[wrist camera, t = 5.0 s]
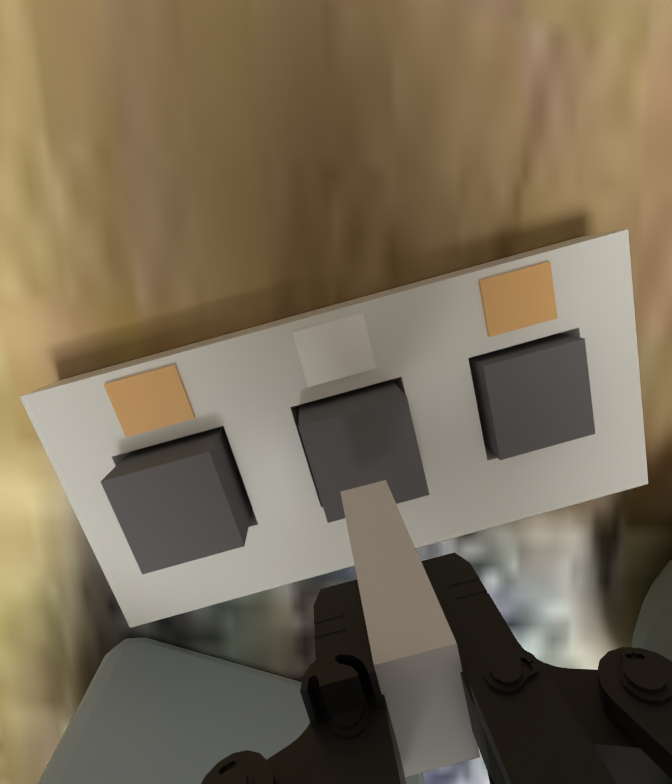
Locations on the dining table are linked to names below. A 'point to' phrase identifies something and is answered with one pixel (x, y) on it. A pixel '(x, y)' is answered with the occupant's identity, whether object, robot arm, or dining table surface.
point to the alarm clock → (174, 717)
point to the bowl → (656, 616)
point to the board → (342, 374)
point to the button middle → (362, 444)
